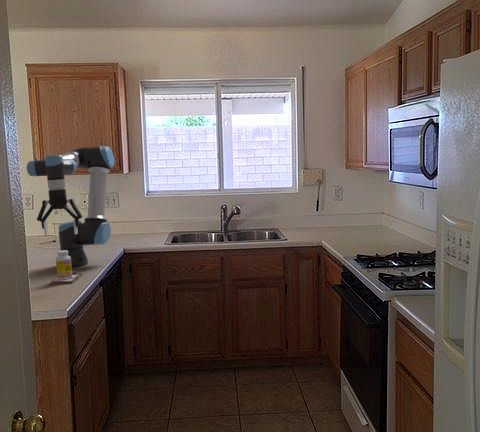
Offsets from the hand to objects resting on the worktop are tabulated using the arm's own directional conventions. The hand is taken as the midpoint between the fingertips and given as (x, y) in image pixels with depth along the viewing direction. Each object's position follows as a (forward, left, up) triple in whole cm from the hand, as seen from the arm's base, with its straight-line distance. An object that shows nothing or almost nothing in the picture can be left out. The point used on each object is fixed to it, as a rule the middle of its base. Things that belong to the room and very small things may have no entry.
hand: (61, 234), depth 239 cm
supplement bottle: (0, 0, -21) cm, 21 cm away
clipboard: (-1, 0, -22) cm, 22 cm away
